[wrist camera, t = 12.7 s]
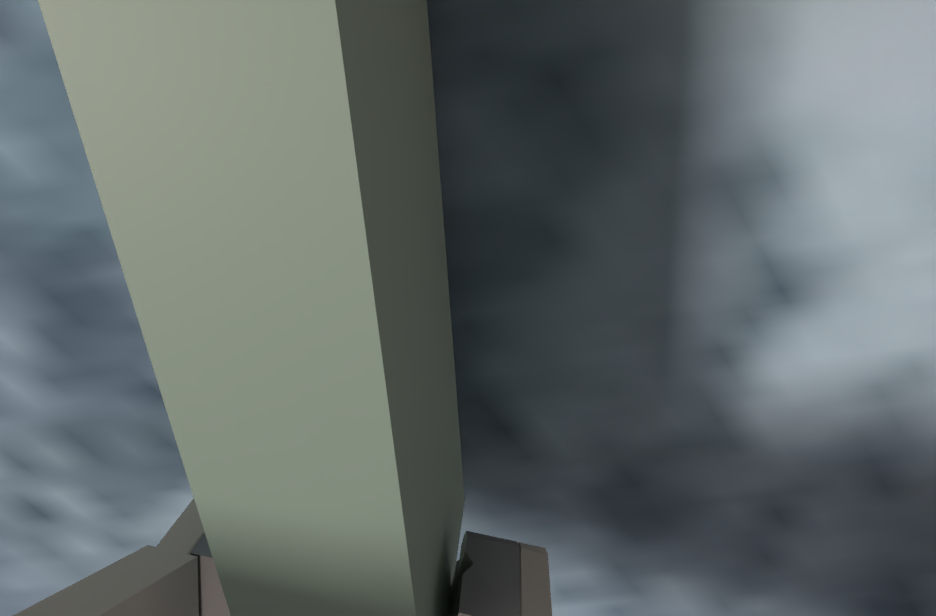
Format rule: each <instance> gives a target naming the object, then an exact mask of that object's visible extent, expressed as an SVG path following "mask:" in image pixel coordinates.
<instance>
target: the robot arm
mask: <svg viewBox="0 0 936 616" xmlns="http://www.w3.org/2000/svg"><path fill="white" fill-rule="evenodd" d="M447 614H448V616H552V607H551V593H550V579H549V564H548V553H547V551H546V549H545V548H543V547H538V546H534V545H529V544H525V543H520V542H519V543H518V542H517V541H512V540H508V539H503V538H498V537H493V536H489V535H484V534H479V533H474V532H470V531H466V533H465V535H464V538H463V541H462V545H461V552H460V560H458V561H457V562H456V566H455V570H454V574H453V578H452V583H451V588H450V595H449V603H448V610H447ZM14 616H231V615H230V612H229V608H228V605H227V602H226V599H225V596H224V592H223V589H222V586H221V583H220V580H219V576H218V573H217V570H216V567H215V564H214V560H213V557H212V554H211V551H210V548H209V545H208V541H207V538H206V535H205V532H204V529H203V525H202V522H201V519H200V516H199V513H198V509H197V506H196V503H195V500H194V499H193V500H192V501H191V503H190V504H189V505H188V507H187V508H186V509H185V510H184V512H183V513H182V514H181V516H180V517H179V518H178V519H177V521H176V522H175V523H174V525H173V526H172V527H171V529H170V530H169V531H168V532H167V534H166V535H165V536H164V538H163V539H162V540H161V541H160V543H159V544H158V545H157V547H154V546H149V545H147V546H145V547H143V548H141V549H140V550H138V551H136V552H134V553H132V554H130V555H128V556H126V557H124V558H122V559H120V560H119V561H117V562H115V563H113V564H111V565H109V566H107V567H105V568H103V569H101V570H99V571H98V572H96V573H94V574H92V575H90V576H88V577H86V578H84V579H82V580H80V581H78V582H77V583H75V584H73V585H71V586H69V587H67V588H65V589H63V590H61V591H59V592H57V593H56V594H54V595H52V596H50V597H48V598H46V599H44V600H42V601H40V602H38V603H36V604H35V605H33V606H31V607H29V608H27V609H25V610H23V611H21V612H19V613H17V614H15V615H14Z"/></svg>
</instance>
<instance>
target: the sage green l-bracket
mask: <svg viewBox="0 0 936 616" xmlns="http://www.w3.org/2000/svg"><path fill="white" fill-rule="evenodd" d="M38 2H39V5H40V8H41V11H42V14H43V18H44V21H45V24H46V27H47V30H48V33H49V37H50V40H51V43H52V46H53V49H54V53H55V56H56V59H57V62H58V65H59V69H60V72H61V75H62V78H63V81H64V85H65V88H66V91H67V94H68V97H69V101H70V104H71V107H72V110H73V113H74V117H75V120H76V123H77V126H78V129H79V132H80V136H81V139H82V142H83V145H84V148H85V152H86V155H87V158H88V161H89V164H90V168H91V171H92V174H93V177H94V180H95V184H96V187H97V190H98V193H99V196H100V200H101V203H102V206H103V209H104V212H105V216H106V219H107V222H108V225H109V228H110V232H111V235H112V238H113V241H114V244H115V247H116V251H117V254H118V257H119V260H120V263H121V267H122V270H123V273H124V276H125V279H126V283H127V286H128V289H129V292H130V295H131V299H132V302H133V305H134V308H135V311H136V315H137V318H138V321H139V324H140V327H141V331H142V334H143V337H144V340H145V343H146V346H147V350H148V353H149V356H150V359H151V362H152V366H153V369H154V372H155V375H156V378H157V382H158V385H159V388H160V391H161V394H162V398H163V401H164V404H165V407H166V410H167V414H168V417H169V420H170V423H171V426H172V430H173V433H174V436H175V439H176V442H177V445H178V449H179V452H180V455H181V458H182V461H183V465H184V468H185V471H186V474H187V477H188V481H189V484H190V487H191V490H192V493H193V497H194V500H195V503H196V506H197V509H198V513H199V516H200V519H201V522H202V525H203V529H204V532H205V535H206V538H207V541H208V545H209V548H210V551H211V554H212V557H213V560H214V564H215V567H216V570H217V573H218V576H219V580H220V583H221V586H222V589H223V592H224V596H225V599H226V602H227V605H228V608H229V612H230V615H231V616H448V614H447V610H448V603H449V595H450V588H451V583H452V578H453V574H454V570H455V566H456V559H457V551H458V544H459V537H460V529H461V522H462V515H463V507H464V500H465V496H464V483H463V470H462V457H461V443H460V430H459V417H458V404H457V391H456V378H455V364H454V351H453V338H452V325H451V312H450V298H449V285H448V272H447V259H446V246H445V232H444V219H443V206H442V193H441V180H440V166H439V153H438V140H437V127H436V114H435V101H434V87H433V74H432V61H431V48H430V35H429V21H428V8H427V0H38Z"/></svg>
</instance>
